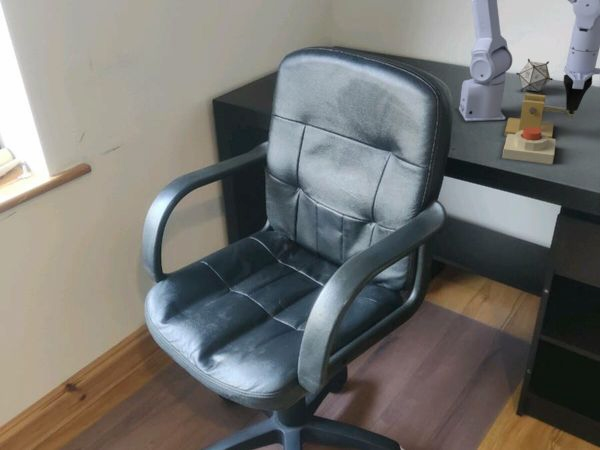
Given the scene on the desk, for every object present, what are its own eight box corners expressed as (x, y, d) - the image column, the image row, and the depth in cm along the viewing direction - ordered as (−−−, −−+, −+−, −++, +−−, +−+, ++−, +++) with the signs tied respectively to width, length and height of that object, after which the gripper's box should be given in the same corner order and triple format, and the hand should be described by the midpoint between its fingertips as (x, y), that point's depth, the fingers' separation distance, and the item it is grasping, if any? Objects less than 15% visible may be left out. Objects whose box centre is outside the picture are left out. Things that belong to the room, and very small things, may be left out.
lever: (572, 112, 138) (575, 102, 137) (572, 122, 134) (575, 111, 133) (526, 105, 141) (528, 95, 140) (524, 114, 137) (526, 104, 136)
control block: (554, 148, 134) (557, 131, 132) (552, 164, 128) (555, 147, 125) (506, 142, 137) (508, 125, 135) (502, 158, 131) (504, 141, 129)
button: (540, 135, 131) (542, 127, 130) (539, 142, 128) (541, 134, 127) (522, 133, 132) (524, 125, 131) (521, 140, 130) (522, 132, 129)
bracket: (552, 127, 143) (559, 94, 139) (551, 141, 137) (557, 107, 132) (508, 122, 146) (512, 89, 142) (504, 135, 140) (509, 102, 136)
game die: (535, 103, 164) (564, 73, 160) (529, 102, 157) (559, 71, 153) (511, 81, 167) (539, 51, 162) (503, 79, 160) (532, 48, 155)
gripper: (606, 60, 121) (591, 124, 128) (604, 38, 132) (591, 99, 140) (567, 57, 123) (555, 120, 131) (569, 36, 135) (558, 96, 142)
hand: (571, 109), depth 135 cm, fingers closed, pressing on lever
